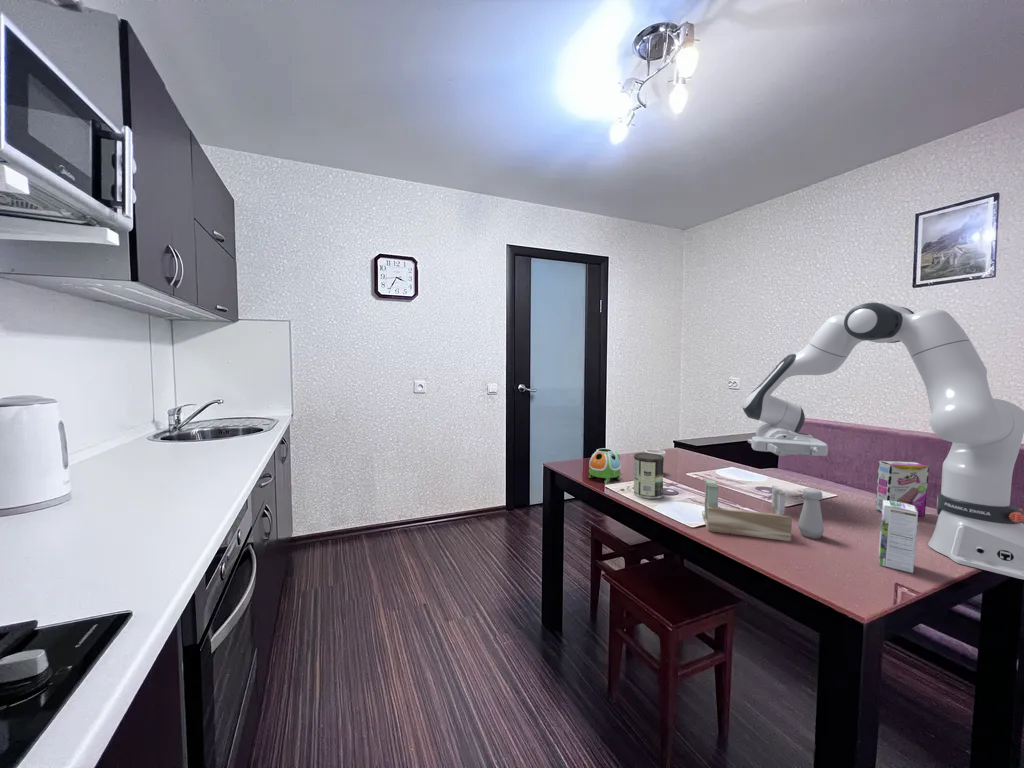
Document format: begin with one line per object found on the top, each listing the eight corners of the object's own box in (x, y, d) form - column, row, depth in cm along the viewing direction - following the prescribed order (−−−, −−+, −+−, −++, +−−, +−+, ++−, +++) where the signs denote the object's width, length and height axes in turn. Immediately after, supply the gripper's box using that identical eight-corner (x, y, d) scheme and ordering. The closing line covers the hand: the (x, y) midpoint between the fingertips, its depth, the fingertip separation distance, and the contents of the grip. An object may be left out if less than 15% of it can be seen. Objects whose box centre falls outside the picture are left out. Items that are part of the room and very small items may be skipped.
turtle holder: (631, 475, 165) (631, 448, 164) (609, 485, 152) (609, 455, 151) (605, 470, 174) (605, 443, 173) (582, 478, 161) (582, 450, 160)
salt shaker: (794, 534, 108) (796, 488, 108) (801, 529, 112) (803, 484, 111) (820, 542, 104) (822, 494, 103) (826, 536, 107) (828, 490, 107)
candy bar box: (887, 516, 122) (890, 464, 121) (874, 510, 127) (877, 460, 126) (927, 517, 121) (930, 465, 120) (912, 511, 126) (915, 461, 125)
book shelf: (701, 515, 122) (703, 476, 121) (776, 523, 116) (777, 482, 115) (708, 530, 110) (709, 487, 110) (790, 541, 104) (792, 495, 104)
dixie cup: (662, 471, 171) (663, 449, 171) (667, 477, 163) (667, 453, 163) (642, 470, 173) (643, 448, 172) (646, 476, 164) (646, 452, 164)
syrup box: (877, 556, 96) (880, 498, 95) (911, 564, 92) (915, 504, 92) (879, 565, 92) (882, 505, 91) (915, 574, 88) (919, 511, 87)
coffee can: (655, 489, 147) (656, 452, 146) (668, 498, 137) (669, 459, 136) (629, 489, 147) (629, 452, 146) (639, 499, 136) (640, 459, 136)
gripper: (746, 430, 134) (758, 438, 121) (816, 435, 128) (837, 444, 115) (745, 448, 135) (756, 458, 122) (815, 453, 129) (835, 465, 116)
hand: (796, 451), depth 118 cm, fingers open, 8 cm apart
